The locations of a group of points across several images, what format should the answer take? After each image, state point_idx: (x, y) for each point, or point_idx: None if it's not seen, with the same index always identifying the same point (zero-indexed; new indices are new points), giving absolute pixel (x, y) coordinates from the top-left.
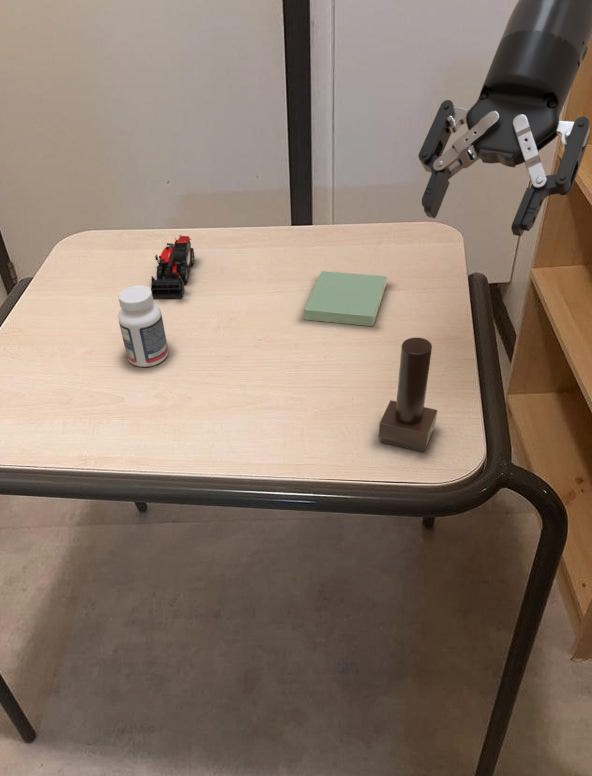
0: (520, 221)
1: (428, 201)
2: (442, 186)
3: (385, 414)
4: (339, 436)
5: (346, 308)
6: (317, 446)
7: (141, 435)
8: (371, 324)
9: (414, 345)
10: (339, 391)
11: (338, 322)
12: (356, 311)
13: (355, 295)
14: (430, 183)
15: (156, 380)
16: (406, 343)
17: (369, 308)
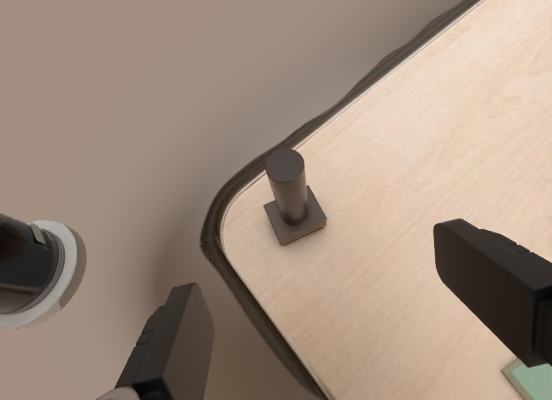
0: (171, 293)
1: (464, 226)
2: (496, 290)
3: (313, 197)
4: (342, 179)
5: None
6: (345, 157)
7: (464, 67)
8: (505, 369)
9: (286, 162)
10: (400, 226)
11: None
12: (543, 365)
13: None
14: (540, 264)
15: (546, 108)
16: (298, 159)
17: (539, 389)
